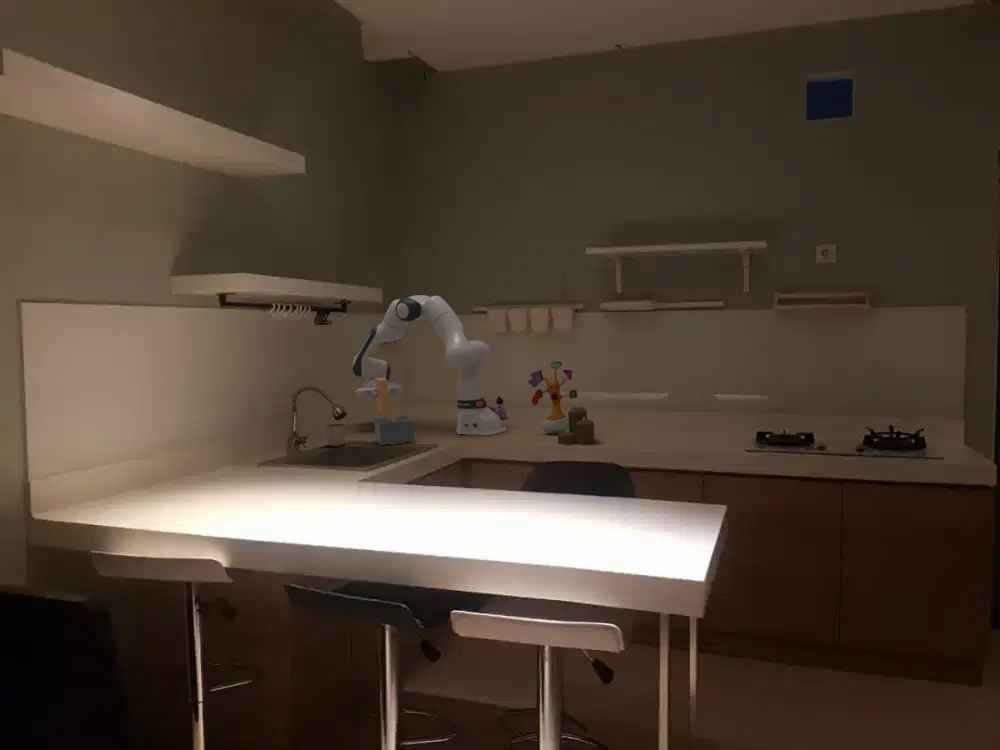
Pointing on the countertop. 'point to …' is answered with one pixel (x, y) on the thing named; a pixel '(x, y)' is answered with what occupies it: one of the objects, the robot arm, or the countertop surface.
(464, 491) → the countertop surface
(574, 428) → the candle
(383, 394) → the tan rectangular block
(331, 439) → the flower pot
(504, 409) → the toy
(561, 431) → the decorative sculpture
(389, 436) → the block
